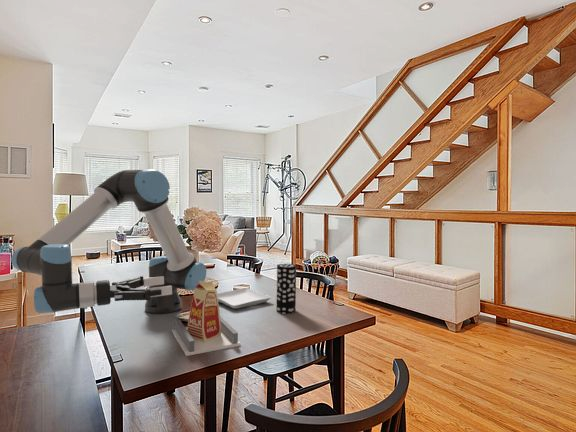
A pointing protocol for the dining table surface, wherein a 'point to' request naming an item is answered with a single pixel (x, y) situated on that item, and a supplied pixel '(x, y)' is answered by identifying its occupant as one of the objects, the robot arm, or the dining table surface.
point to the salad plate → (242, 298)
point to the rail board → (195, 347)
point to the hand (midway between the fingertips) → (167, 284)
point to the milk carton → (204, 313)
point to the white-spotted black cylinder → (286, 288)
